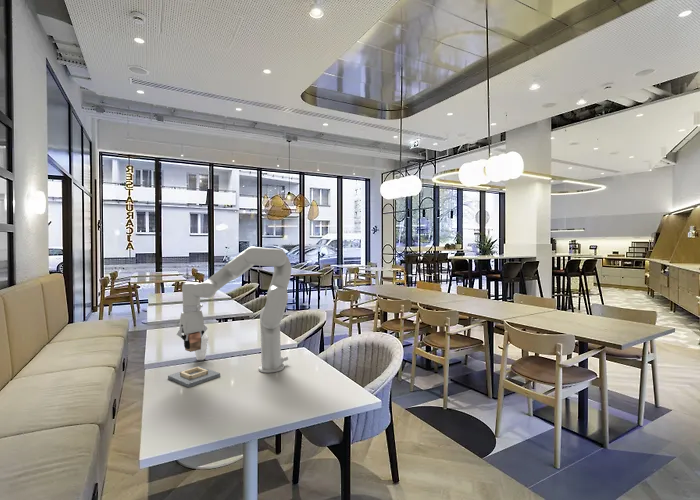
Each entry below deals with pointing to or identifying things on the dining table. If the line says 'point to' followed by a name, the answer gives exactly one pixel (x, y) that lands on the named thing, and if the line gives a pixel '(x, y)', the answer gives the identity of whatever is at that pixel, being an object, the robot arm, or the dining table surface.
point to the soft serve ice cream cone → (202, 348)
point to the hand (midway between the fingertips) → (192, 346)
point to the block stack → (194, 342)
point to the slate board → (193, 376)
